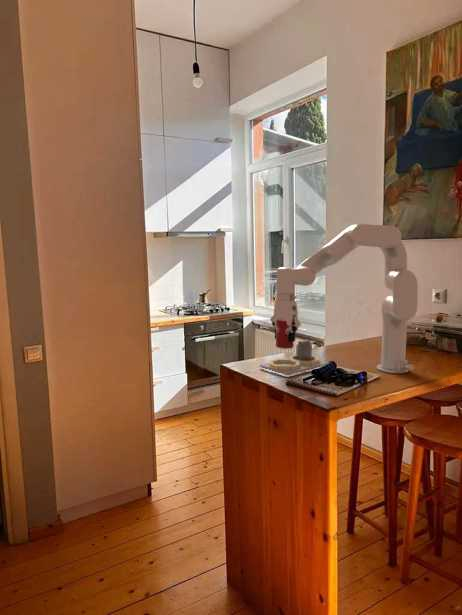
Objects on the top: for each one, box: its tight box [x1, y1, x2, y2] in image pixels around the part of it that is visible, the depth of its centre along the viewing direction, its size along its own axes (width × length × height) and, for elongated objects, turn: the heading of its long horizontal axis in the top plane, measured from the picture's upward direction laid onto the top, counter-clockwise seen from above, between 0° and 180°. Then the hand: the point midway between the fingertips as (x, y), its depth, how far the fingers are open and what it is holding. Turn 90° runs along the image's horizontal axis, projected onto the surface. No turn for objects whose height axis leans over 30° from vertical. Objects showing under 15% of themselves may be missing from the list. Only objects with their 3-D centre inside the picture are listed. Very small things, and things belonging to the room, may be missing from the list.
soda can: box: [275, 319, 295, 350], centre depth 189 cm, size 7×7×12 cm
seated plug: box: [295, 339, 313, 361], centre depth 198 cm, size 7×7×9 cm
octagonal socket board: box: [259, 354, 329, 375], centre depth 195 cm, size 16×25×4 cm, turn 129°
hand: (284, 339), depth 189 cm, fingers closed on soda can, 7 cm apart
